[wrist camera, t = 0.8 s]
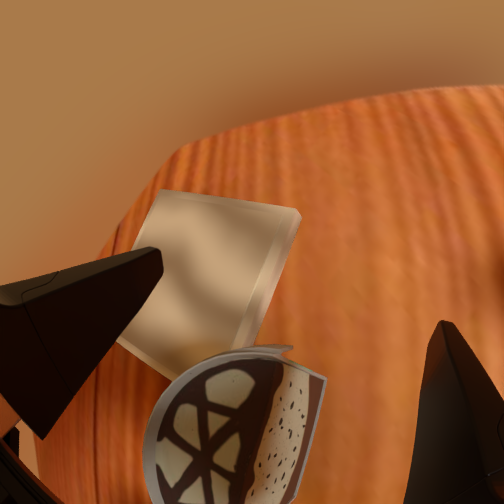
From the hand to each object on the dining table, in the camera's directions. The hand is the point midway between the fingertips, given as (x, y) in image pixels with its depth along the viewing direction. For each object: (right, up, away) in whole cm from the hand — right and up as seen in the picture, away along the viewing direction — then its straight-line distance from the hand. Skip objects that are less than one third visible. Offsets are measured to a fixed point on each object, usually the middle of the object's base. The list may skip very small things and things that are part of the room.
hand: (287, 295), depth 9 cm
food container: (0, -11, +11) cm, 16 cm away
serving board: (-6, -2, +19) cm, 20 cm away
